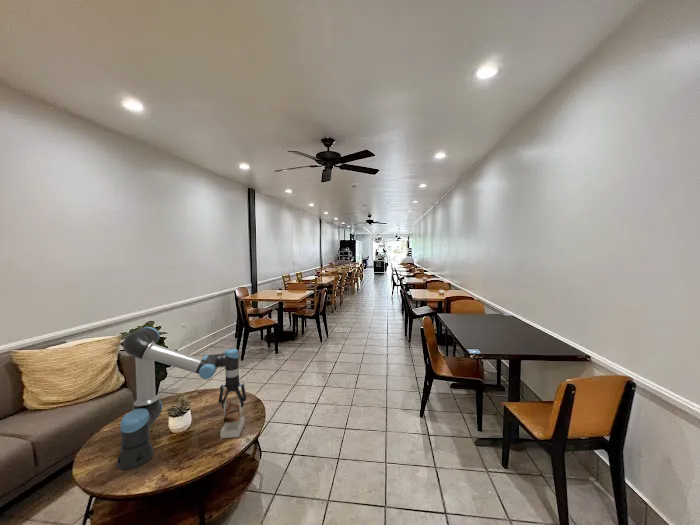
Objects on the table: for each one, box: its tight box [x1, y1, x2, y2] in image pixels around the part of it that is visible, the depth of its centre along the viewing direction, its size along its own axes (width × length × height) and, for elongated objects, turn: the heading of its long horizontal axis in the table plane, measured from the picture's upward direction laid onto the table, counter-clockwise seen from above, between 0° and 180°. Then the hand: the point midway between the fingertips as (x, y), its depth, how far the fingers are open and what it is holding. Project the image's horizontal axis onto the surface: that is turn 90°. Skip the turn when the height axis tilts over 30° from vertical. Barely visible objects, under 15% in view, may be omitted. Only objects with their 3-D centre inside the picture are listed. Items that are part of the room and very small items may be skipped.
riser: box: [220, 416, 246, 439], centre depth 171 cm, size 14×10×4 cm
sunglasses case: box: [223, 401, 241, 424], centre depth 171 cm, size 18×7×7 cm
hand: (233, 412), depth 171 cm, fingers closed on sunglasses case, 8 cm apart
